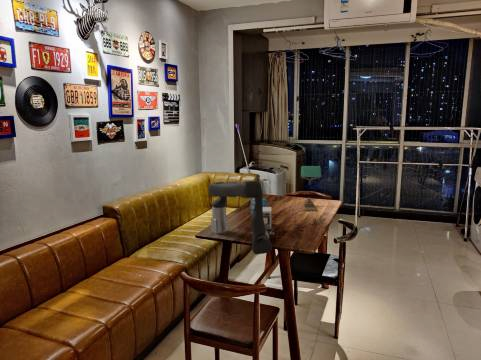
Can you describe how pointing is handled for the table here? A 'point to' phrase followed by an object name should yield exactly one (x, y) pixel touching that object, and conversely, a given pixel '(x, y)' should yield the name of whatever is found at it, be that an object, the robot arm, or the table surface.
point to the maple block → (265, 222)
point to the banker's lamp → (310, 173)
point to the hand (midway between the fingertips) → (262, 227)
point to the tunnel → (267, 210)
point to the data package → (254, 205)
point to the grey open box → (268, 219)
